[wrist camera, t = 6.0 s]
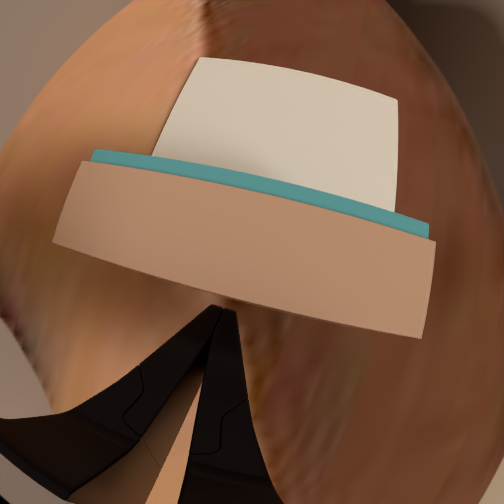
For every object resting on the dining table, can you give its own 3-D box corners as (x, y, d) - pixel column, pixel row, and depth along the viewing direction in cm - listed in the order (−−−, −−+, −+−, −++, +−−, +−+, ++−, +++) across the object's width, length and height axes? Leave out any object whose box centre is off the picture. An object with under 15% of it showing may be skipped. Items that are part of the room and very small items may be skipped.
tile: (341, 325, 16) (421, 338, 7) (144, 274, 17) (51, 242, 8) (354, 265, 17) (436, 224, 8) (161, 218, 18) (88, 145, 9)
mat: (385, 262, 17) (388, 261, 16) (136, 201, 18) (134, 199, 17) (395, 102, 19) (397, 100, 19) (200, 60, 20) (200, 57, 20)
